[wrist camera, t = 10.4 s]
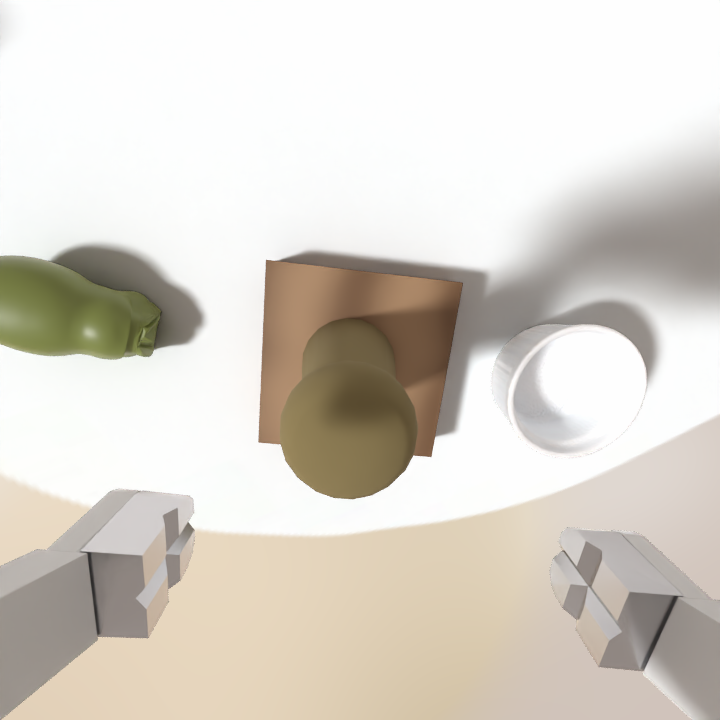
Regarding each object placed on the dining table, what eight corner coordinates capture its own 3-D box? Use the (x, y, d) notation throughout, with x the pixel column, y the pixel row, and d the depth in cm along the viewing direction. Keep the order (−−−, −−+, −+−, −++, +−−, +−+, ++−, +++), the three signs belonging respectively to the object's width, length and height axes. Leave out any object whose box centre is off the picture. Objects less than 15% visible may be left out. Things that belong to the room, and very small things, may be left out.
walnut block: (450, 281, 23) (462, 282, 21) (423, 439, 26) (431, 456, 24) (274, 261, 23) (266, 259, 20) (267, 426, 25) (258, 442, 23)
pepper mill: (286, 338, 21) (225, 403, 11) (376, 303, 21) (405, 335, 10) (323, 420, 23) (301, 550, 12) (407, 389, 22) (461, 494, 12)
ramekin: (551, 290, 24) (594, 293, 20) (622, 373, 26) (676, 393, 21) (457, 377, 25) (479, 398, 21) (531, 451, 27) (564, 483, 23)
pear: (-72, 237, 17) (152, 302, 19) (12, 241, 21) (181, 292, 24) (-77, 344, 18) (134, 390, 20) (3, 324, 23) (164, 364, 25)
